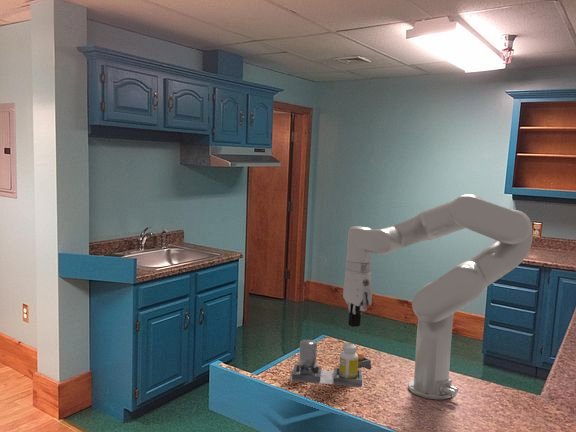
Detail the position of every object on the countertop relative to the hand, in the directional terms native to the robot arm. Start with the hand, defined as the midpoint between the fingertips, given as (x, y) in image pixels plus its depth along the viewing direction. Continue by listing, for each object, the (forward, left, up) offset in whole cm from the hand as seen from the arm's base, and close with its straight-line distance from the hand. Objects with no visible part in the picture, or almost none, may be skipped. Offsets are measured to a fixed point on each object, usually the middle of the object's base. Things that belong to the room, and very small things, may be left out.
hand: (354, 325), depth 152 cm
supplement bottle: (-5, +6, -14) cm, 16 cm away
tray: (-2, +11, -15) cm, 18 cm away
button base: (+3, -5, -15) cm, 16 cm away
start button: (+3, -5, -12) cm, 14 cm away
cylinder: (+2, +15, -14) cm, 21 cm away
